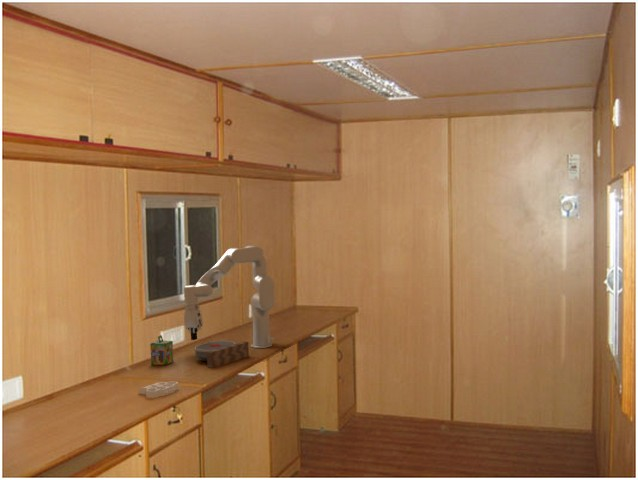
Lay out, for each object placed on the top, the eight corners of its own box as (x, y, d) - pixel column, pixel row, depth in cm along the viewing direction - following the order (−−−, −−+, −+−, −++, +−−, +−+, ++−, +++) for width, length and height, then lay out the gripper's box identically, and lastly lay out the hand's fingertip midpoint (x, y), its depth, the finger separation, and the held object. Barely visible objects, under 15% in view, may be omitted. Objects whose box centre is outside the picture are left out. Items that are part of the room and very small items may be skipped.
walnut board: (244, 355, 380) (244, 341, 380) (248, 356, 379) (248, 342, 378) (207, 367, 355) (207, 351, 355) (211, 367, 354) (211, 352, 353)
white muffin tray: (161, 386, 321) (185, 390, 314) (133, 396, 305) (158, 400, 298) (161, 379, 321) (185, 382, 313) (133, 388, 305) (158, 392, 298)
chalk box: (166, 365, 361) (166, 337, 360) (150, 365, 363) (149, 337, 362) (174, 361, 370) (173, 334, 369) (158, 361, 372) (157, 334, 371)
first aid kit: (215, 365, 360) (241, 355, 382) (215, 351, 359) (241, 342, 382) (188, 362, 367) (215, 353, 390) (188, 348, 367) (214, 340, 389)
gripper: (206, 306, 384) (208, 339, 385) (186, 305, 392) (189, 337, 393) (197, 309, 378) (199, 342, 379) (177, 307, 386) (179, 340, 387)
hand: (194, 339), depth 386 cm, fingers closed
